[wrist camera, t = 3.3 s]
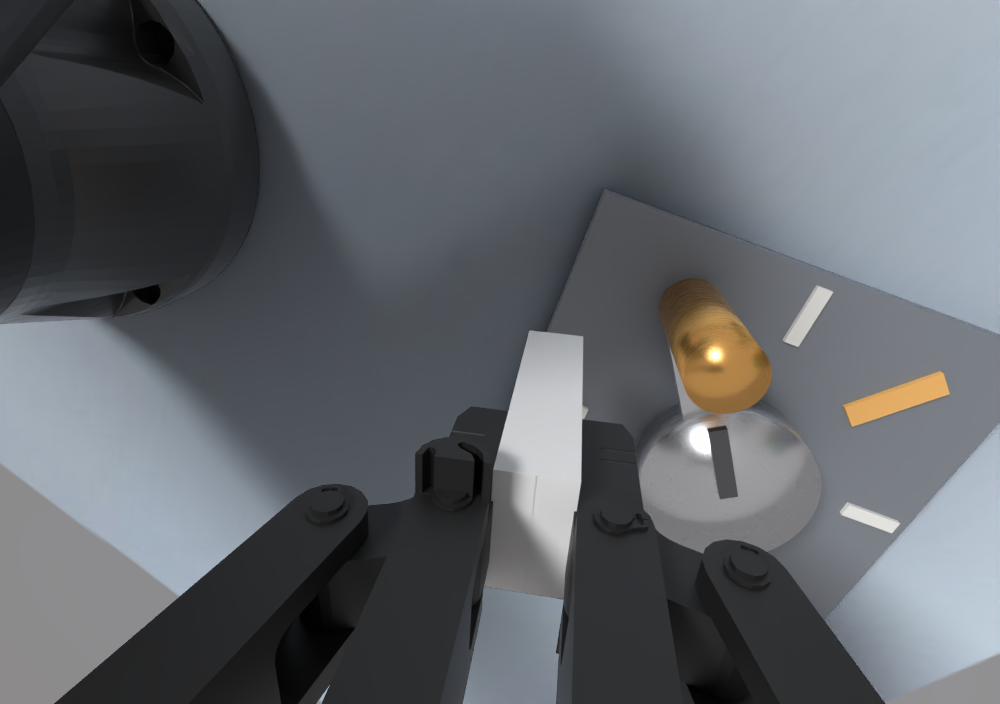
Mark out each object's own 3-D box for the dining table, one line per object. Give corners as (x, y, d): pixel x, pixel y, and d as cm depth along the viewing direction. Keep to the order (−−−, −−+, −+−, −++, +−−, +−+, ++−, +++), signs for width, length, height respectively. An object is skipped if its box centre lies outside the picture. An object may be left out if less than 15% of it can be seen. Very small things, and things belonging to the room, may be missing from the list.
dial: (809, 516, 24) (876, 638, 19) (650, 535, 26) (668, 653, 20) (782, 255, 20) (859, 312, 14) (593, 298, 22) (596, 365, 16)
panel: (469, 520, 29) (464, 537, 28) (604, 188, 21) (605, 193, 20) (787, 636, 29) (795, 656, 28) (1035, 348, 21) (1060, 361, 20)
